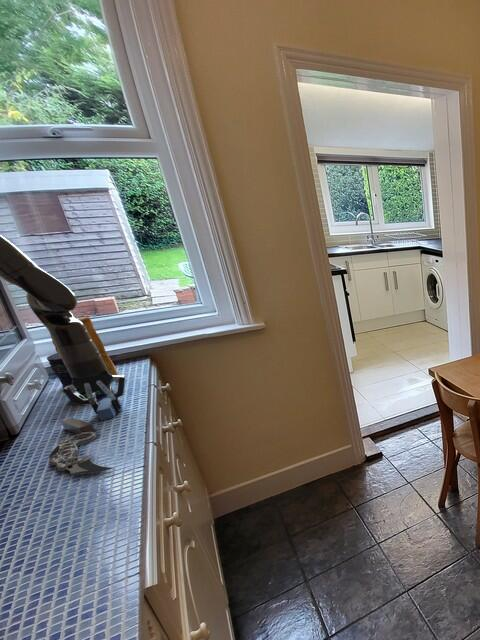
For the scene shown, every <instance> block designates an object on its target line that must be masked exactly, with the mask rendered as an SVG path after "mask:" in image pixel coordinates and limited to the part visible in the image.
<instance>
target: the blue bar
mask: <svg viewBox="0 0 480 640" xmlns="http://www.w3.org/2000/svg"><path fill="white" fill-rule="evenodd" d="M96 412H97V414H96V415H97V416H98V418H99V420H100V421H105V420H110V419H113V418H114V419H115V418H116V414H117V412H116V411H115V409H114V407H113V405H112V403H111V399H110V398H109V397H107V398H106V397H105V398H102V399H100V402H99V406H98V408H97V411H96Z"/></svg>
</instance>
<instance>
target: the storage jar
mask: <svg viewBox="0 0 480 640" xmlns="http://www.w3.org/2000/svg"><path fill="white" fill-rule="evenodd" d="M46 360H47V362H49V365H50V368H51V370H52V371H53V374H54V375H55V376H56V377H57V378H58V380H59V382H60V383H61V385H62V390H63V389H64V388H65V387H66V386H69V385H71V384H72V381H73V380H72V377H71V375H70V374H69V372H68V370H67V368H66V366H65V364H64V362H63V361H62V360H61V357H60V355H59V353H57V352H56V353H53V354H50V355H48V356H46ZM75 388H76V389H77V390H76V392H78V393H79V394H80V395H82V396H83V397H85V398H86V399H88V398H87V394H86V392H85V391H83V390H81V389H79V388H77V387H75ZM65 396H66V397H67V398H68V399H69V402H70V404H72V405H80V404H79V403H78V402H76V401H75V400H74V399H72V398H71V397H69V396H68V395H66V394H65ZM95 396H96V401H99V400H101V399H105V398H106V397H107V398H108V396H107V395H106V394H105V393H104V392H103V391H97V392H95Z"/></svg>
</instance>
